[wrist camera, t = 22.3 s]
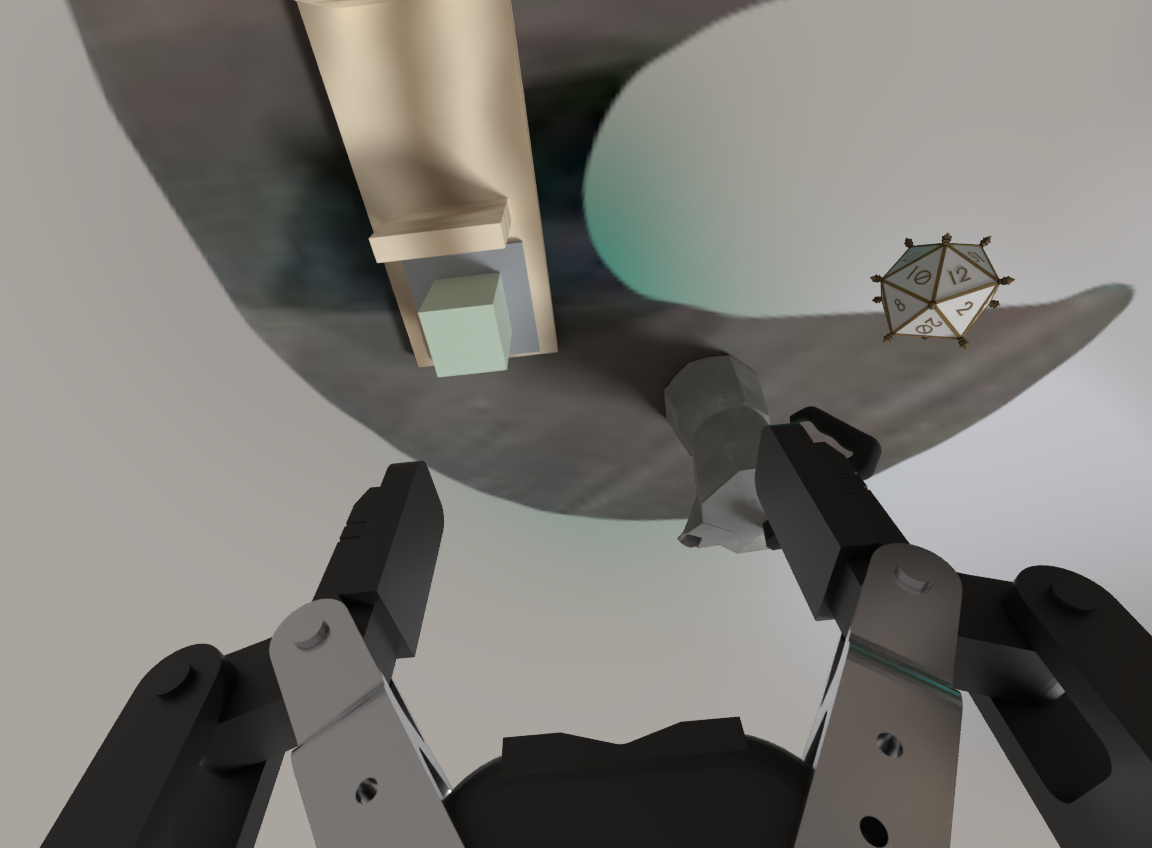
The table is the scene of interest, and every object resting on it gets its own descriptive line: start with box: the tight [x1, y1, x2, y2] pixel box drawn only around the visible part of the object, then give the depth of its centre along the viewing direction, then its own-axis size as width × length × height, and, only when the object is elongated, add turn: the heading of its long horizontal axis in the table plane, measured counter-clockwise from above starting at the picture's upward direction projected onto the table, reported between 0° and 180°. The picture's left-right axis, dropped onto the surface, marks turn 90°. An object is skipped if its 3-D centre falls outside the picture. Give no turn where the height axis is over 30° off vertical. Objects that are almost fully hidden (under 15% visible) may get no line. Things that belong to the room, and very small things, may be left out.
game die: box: [870, 233, 1015, 349], centre depth 38 cm, size 9×8×10 cm
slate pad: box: [402, 241, 540, 355], centre depth 39 cm, size 9×9×1 cm
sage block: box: [418, 272, 512, 377], centre depth 37 cm, size 5×5×6 cm
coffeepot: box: [664, 355, 881, 554], centre depth 40 cm, size 15×9×18 cm, turn 123°
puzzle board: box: [295, 0, 558, 367], centre depth 28 cm, size 12×40×8 cm, turn 6°
